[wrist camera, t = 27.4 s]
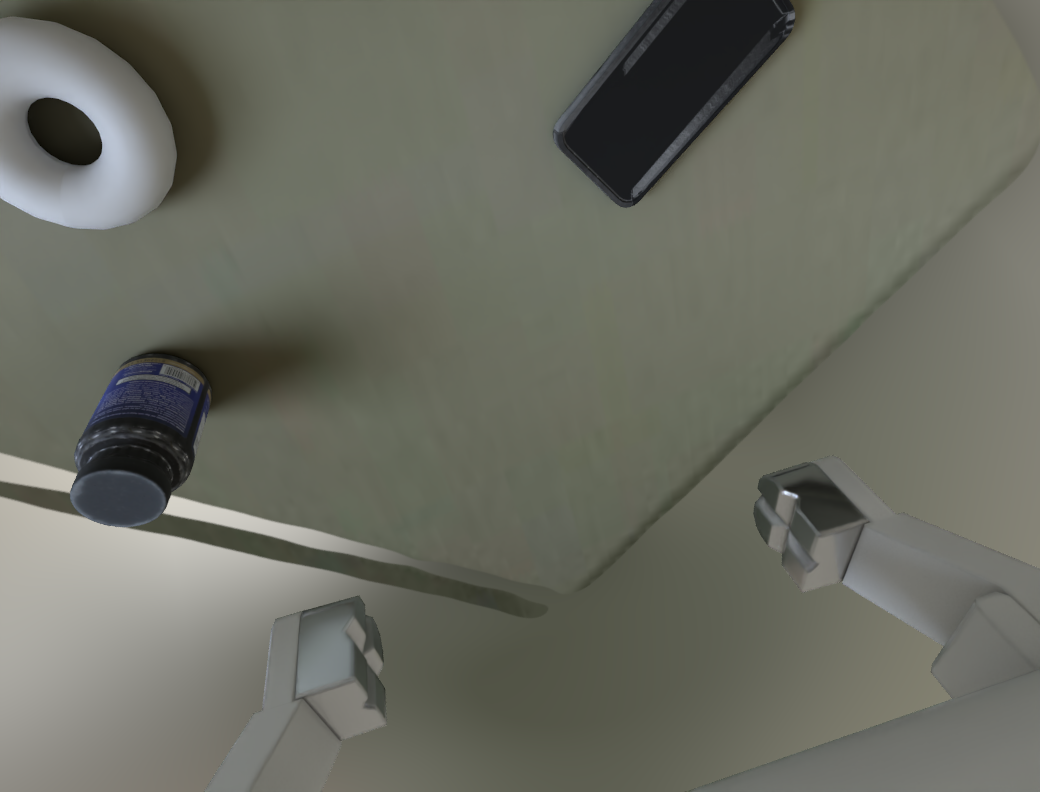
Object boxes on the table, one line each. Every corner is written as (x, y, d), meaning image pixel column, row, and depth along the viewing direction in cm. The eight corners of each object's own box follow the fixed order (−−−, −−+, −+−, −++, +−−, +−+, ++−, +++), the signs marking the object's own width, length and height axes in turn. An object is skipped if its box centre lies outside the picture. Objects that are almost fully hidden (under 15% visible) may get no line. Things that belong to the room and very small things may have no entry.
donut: (140, 10, 29) (-96, 16, 27) (121, 16, 26) (-143, 22, 24) (208, 209, 35) (20, 225, 33) (198, 229, 32) (-7, 249, 30)
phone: (801, 21, 35) (627, 214, 40) (790, 20, 36) (621, 209, 41) (735, -94, 31) (549, 138, 36) (724, -93, 32) (544, 134, 36)
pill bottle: (94, 364, 39) (23, 479, 30) (184, 339, 39) (140, 445, 30) (148, 430, 42) (99, 548, 34) (230, 406, 43) (202, 517, 34)
